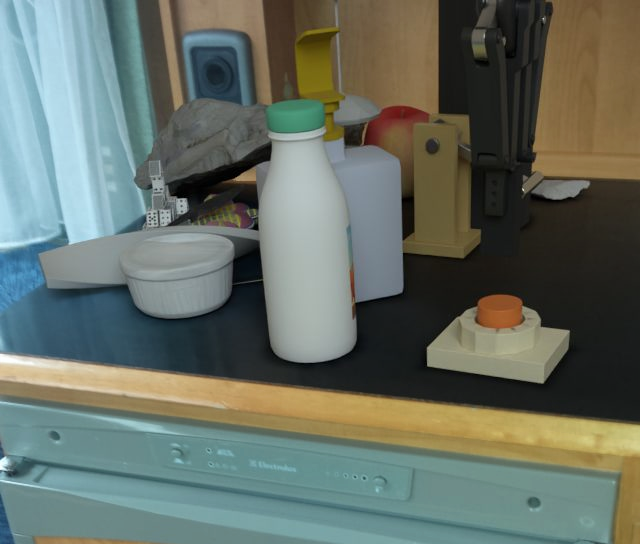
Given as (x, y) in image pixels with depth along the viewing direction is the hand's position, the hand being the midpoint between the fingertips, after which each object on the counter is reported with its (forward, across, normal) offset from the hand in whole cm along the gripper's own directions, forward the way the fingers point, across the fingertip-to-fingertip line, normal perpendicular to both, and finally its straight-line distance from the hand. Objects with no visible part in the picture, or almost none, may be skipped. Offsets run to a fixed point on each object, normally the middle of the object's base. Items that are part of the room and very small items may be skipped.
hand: (499, 252), depth 79 cm
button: (+6, 0, 0) cm, 6 cm away
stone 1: (+6, -32, -45) cm, 55 cm away
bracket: (+9, -25, -15) cm, 30 cm away
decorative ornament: (+7, -24, -36) cm, 44 cm away
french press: (+9, -22, -25) cm, 35 cm away
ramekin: (+9, -2, -33) cm, 34 cm away
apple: (+9, -40, -26) cm, 49 cm away
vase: (+9, -34, -14) cm, 38 cm away
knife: (+9, -8, -29) cm, 31 cm away
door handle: (+5, -6, -36) cm, 37 cm away
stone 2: (+9, -46, -8) cm, 47 cm away
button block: (+9, 0, 0) cm, 9 cm away
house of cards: (+9, -22, -47) cm, 53 cm away
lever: (+1, -25, -11) cm, 27 cm away
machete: (+6, -16, -40) cm, 44 cm away
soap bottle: (+9, -8, -19) cm, 23 cm away
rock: (-3, -33, -36) cm, 49 cm away
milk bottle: (+9, +3, -16) cm, 19 cm away
